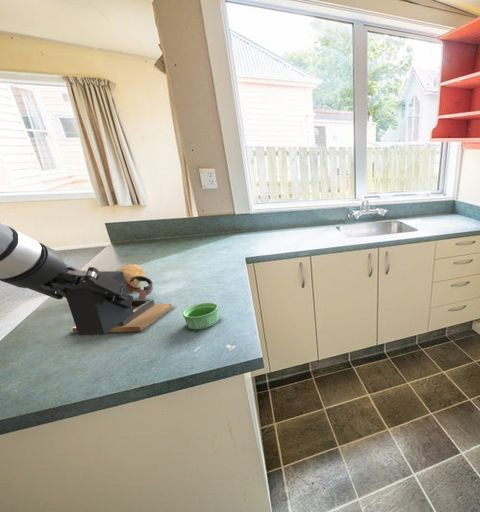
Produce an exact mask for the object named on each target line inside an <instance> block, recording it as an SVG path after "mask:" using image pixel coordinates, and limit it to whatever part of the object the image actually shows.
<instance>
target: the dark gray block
mask: <svg viewBox="0 0 480 512" xmlns="http://www.w3.org/2000/svg"><path fill="white" fill-rule="evenodd" d="M98 271H99V272H100V273H102V274H104V275H106V276H108V277H110V278H112V279H114V280H116V281H118V282H120V283H122V284H124V285H125V288H124V291H123V292H125V293H127V294H129V295H130V293H128V289H127V286H126V282H125V278H124V274H123V271H116V270H113V271H112V270H111V271H103V270H102V271H100V270H98ZM65 296H66V298H65V299H66V301H67V304H68V305H67V306H68V307H69V310H70V314H71V316H72V317H71V318H72V320H73V322H74V325H75V326H76V329H77V332H78V333H77V334H78V336H99V335H100V336H101V335H106V334H107V333H110V332H109V331H110V330H112V329H113V328H114V327H116V326H117V325H119V324H120V323H121V322H123V321H124V320H126V319H127V318H128V317H130V316H131V315H133V314H134V313H133V309H132V305H131V307H130V308H125V307H123V306H121V305H119V304H116V303H114V302H112V301H107V297H105V296H102V295H98V294H95V293H93V292H89V291H85V290H82V289H70V288H67V287H65ZM75 326H74V327H75Z"/></svg>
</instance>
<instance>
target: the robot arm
mask: <svg viewBox="0 0 480 512" xmlns="http://www.w3.org/2000/svg"><path fill="white" fill-rule="evenodd" d="M99 271H100V270H98V268H97V267H93V266H88V268H87V270H80V269H78V268H77V267H75V266H73V265H70V264H66V263H65V261H64V259H63V256H62V255H61V254H60V253H59V252H58V251H57V250H55V249H53V248H51V247H49V246H47V245H45V244H43V243H42V242H39V241H38V240H36V239H34V238H32V237H30V236H28V235H26V234H24V233H22V232H21V231H19V230H17V229H15V228H13V227H11V226H8V225H6V224H5V223H3V222H1V221H0V282H3V283H6V284H9V285H11V286H14V287H17V288H21V289H29V290H31V291H34V292H37V293H39V294H42V295H44V296H48V297H50V298H53V299H56V300H63V298H65V299H66V296H65V287H67V288H70V289H82V290H85V291H89V292H93V293H95V294H98V295H102V296H105V297H107V301H112V302H114V303H116V304H119V305H121V306H123V307H125V308H130V307H131V304H132V301H133V300H134V298H135V297H134V296H133V295H131V294H130V293H129V294H127V293H125V292H123V291H124V288H125V285H124V284H122V283H120V282H118V281H116V280H114V279H112V278H110V277H108V276H106V275H104V274H102V273H100V272H99Z"/></svg>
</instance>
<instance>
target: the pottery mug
mask: <svg viewBox="0 0 480 512" xmlns="http://www.w3.org/2000/svg"><path fill="white" fill-rule="evenodd" d="M135 279H137V280H138V281H141V282H146V283H147V284H148V285H147V286H143V289H141V286H138V285H137V286H134V285H132V284H131V282H132V281H134V280H135ZM125 282H126V286H127V289H128V293H129V294H134V293H136V294H137V293H138V294H139V296H138V300H144V299H145V298H147V296H148V295H150V294H151V293H152V291H153V290H154V286H153V281H152V280H151V279H150V278H148V277H146V276H144V277H143V276H132V277H129V278H128V279H127V280H126V281H125Z"/></svg>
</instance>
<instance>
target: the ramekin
mask: <svg viewBox="0 0 480 512" xmlns="http://www.w3.org/2000/svg"><path fill="white" fill-rule="evenodd" d="M182 317H183V318H184V321H185V323H186V326H187V328H188V329H191V330H202V329H207V328H210V327H212V326H213V325H215V324H216V323H217V322H218V321H219V318H220V317H219V305H218V304H217V303H215V302H202V303H197V304H194V305H192V306H190V307H187V308H186V309H184V311H183V312H182Z"/></svg>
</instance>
